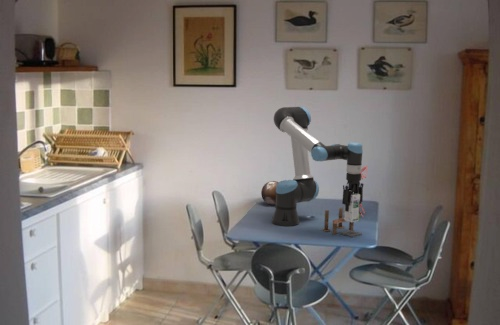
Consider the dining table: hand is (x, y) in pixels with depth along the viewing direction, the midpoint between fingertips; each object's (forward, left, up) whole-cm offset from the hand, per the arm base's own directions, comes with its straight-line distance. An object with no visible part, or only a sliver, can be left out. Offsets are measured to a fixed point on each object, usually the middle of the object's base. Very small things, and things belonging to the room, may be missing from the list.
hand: (351, 216), depth 312 cm
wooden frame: (-9, 0, -10) cm, 13 cm away
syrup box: (0, 0, -3) cm, 3 cm away
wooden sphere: (-75, +12, -10) cm, 77 cm away
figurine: (-29, +34, -10) cm, 45 cm away
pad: (0, 0, -10) cm, 10 cm away
